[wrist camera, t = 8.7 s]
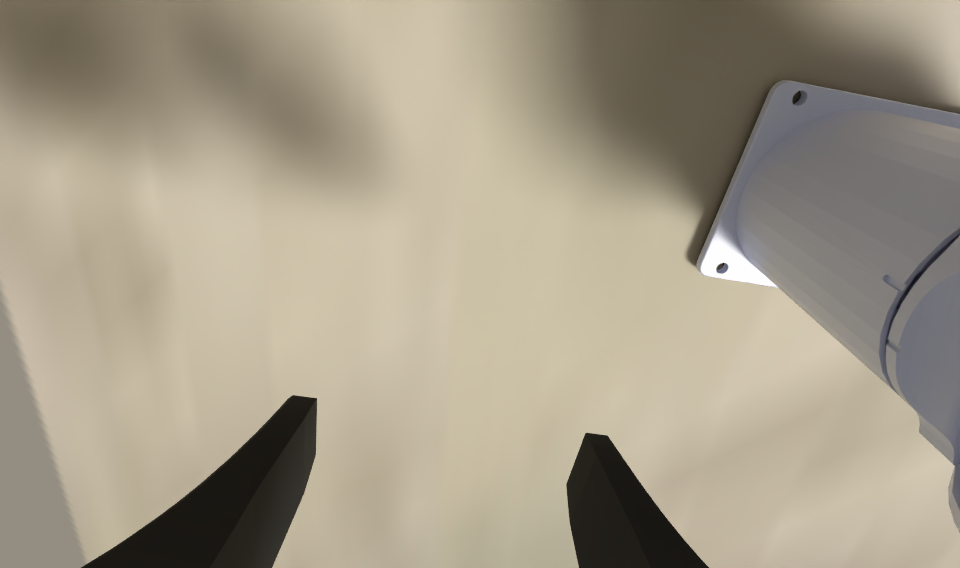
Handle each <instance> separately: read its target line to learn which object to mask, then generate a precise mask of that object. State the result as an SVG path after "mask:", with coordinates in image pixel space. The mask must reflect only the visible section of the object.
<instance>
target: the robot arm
mask: <svg viewBox="0 0 960 568" xmlns="http://www.w3.org/2000/svg"><path fill="white" fill-rule="evenodd" d="M798 91H800V92H801V97H800V99H799V101H798V102H796V103H795V104H793V102H792V99H793V96H794V95H795V93H797V92H798ZM721 263H724V266H723V267H722V268H721V269H719V270H716V267H717V266H718V265H719V264H721ZM696 266H697V269H698V271H699V272H700V273H701V274H702V275H704V276H708V277H714V278H720V279H727V280H733V281H739V282H745V283H752V284H758V285H764V286H770V287H777V288H779V289H780V290H782V291H783V292H784V293H785V294H786V295H787V296H788V297H789V298H791V299H792V300H793V301H794V302H795V303H796V304H797V305H798V306H799V307H801V308H802V309H803V310H804V311H805V312H806V313H807V314H808V315H810V316H811V317H812V318H813V319H814V320H815V321H816V322H817V323H819V324H820V325H821V326H822V327H823V328H824V329H825V330H826V331H827V332H829V333H830V334H831V335H832V336H833V337H834V338H835V339H836V340H838V341H839V342H840V343H841V344H842V345H843V346H844V347H845V348H847V349H848V350H849V351H850V352H851V353H852V354H853V355H854V356H855V357H857V358H858V359H859V360H860V361H861V362H862V363H863V364H864V365H866V366H867V367H868V368H869V369H870V370H871V371H872V372H873V373H875V374H876V375H877V376H878V377H879V378H880V379H881V380H882V381H883V382H885V383H886V384H887V385H888V386H889V387H890V388H891V389H892V390H894V391H895V392H896V393H897V394H898V395H899V396H900V397H901V398H902V399H903V400H904V401H906V402H907V403H908V404H909V405H910V406H911V407H912V408H913V409H914V410H915V411H916V412H917V414H918V416H919V420H920V426H919V433H920V434H921V435H923V436H924V437H925V438H926V439H927V440H928V441H929V442H930V443H931V444H932V445H933V446H934V447H935V448H936V449H937V450H939V451H940V452H941V453H942V454H943V455H944V456H945V457H946V458H947V459H948V460H949V461H950V462H951V463H952V464H953V465H955V468H954V471H953V474H952V477H951V481H950V484H949V487H948V490H949V506H950V509H951V513H952V516H953V519H954V523H955V524H956V526H957V528H958V530H959V532H960V114H958V113H953V112H947V111H942V110H937V109H932V108H927V107H922V106H917V105H912V104H907V103H902V102H897V101H892V100H887V99H882V98H877V97H872V96H867V95H861V94H856V93H851V92H846V91H841V90H836V89H831V88H826V87H821V86H816V85H811V84H806V83H801V82H796V81H791V80H782V81H779V82H777V83H776V84H775V85H774V86H772V88H771V90H770V91H769V93H768V95H767V98H766V100H765V103H764V105H763V107H762V110H761V112H760V114H759V117H758V119H757V121H756V124H755V126H754V128H753V131H752V133H751V135H750V138H749V140H748V143H747V145H746V147H745V150H744V152H743V154H742V157H741V159H740V161H739V164H738V166H737V168H736V171H735V173H734V175H733V178H732V180H731V183H730V185H729V187H728V190H727V192H726V194H725V197H724V199H723V201H722V204H721V206H720V208H719V211H718V213H717V215H716V218H715V220H714V223H713V225H712V227H711V230H710V232H709V234H708V237H707V239H706V241H705V244H704V246H703V248H702V251H701V253H700V255H699V258H698V260H697V264H696ZM316 417H317V398H310V397H302V396H294V395H293V396H291V397H290V398H288V400H287V401H286V402H285V403H284V404H283V405H282V406H281V407H280V408H279V409H278V411H277V412H276V413H275V414H274V415H273V416H272V417H271V418H270V419H269V420H268V421H267V422H266V423H265V424H264V425H263V426H262V427H261V428H260V429H259V430H258V431H257V433H256V434H255V435H253V436H252V437H251V438H250V439H249V440H248V441H247V442H246V443H245V444H244V445H243V446H242V447H241V448H240V449H239V450H238V451H237V452H236V453H235V454H234V455H233V456H232V457H231V458H229V459H228V460H227V461H226V462H225V463H224V464H223V465H222V466H220V467H219V468H218V469H217V470H216V471H215V472H214V473H212V474H211V475H210V476H209V477H208V478H207V479H206V480H204V481H203V482H202V483H201V484H200V485H198V486H197V487H196V488H195V489H194V490H192V491H191V492H190V493H189V494H187V495H186V496H185V497H184V498H182V499H181V500H180V501H179V502H177V503H176V504H175V505H173V506H172V507H171V508H169V509H168V510H167V511H165V512H164V513H163V514H161V515H160V516H159V517H157V518H156V519H154V520H153V521H152V522H150V523H149V524H147V525H146V526H144V527H143V528H142V529H140V530H139V531H137V532H136V533H134V534H133V535H132V536H130V537H129V538H127V539H126V540H124V541H123V542H121V543H120V544H118V545H117V546H115V547H114V548H112V549H111V550H109V551H107V552H106V553H104V554H102V555H101V556H99V557H98V558H96V559H94V560H93V561H91V562H89V563H88V564H86V565H85V566H83V567H81V568H272V566H273V564H274V562H275V559H276V557H277V555H278V552H279V550H280V548H281V545H282V543H283V541H284V539H285V536H286V534H287V532H288V529H289V527H290V525H291V522H292V520H293V518H294V515H295V513H296V511H297V508H298V506H299V504H300V501H301V499H302V496H303V494H304V491H305V488H306V485H307V482H308V479H309V475H310V472H311V469H312V465H313V462H314V459H315V455H316ZM567 497H568V509H569V518H570V525H571V531H572V536H573V540H574V545H575V550H576V555H577V560H578V564H579V568H709V567H708V566H707V565H706V564H705V563H704V562H703V561H702V560H701V559H700V558H699V556H698V555H697V554H696V553H695V552H694V551H693V550H692V549H691V547H690V546H689V545H688V544H687V543H686V542H685V540H684V539H683V538H682V537H681V536H680V534H679V533H678V532H677V531H676V529H675V528H674V527H673V526H672V525H671V523H670V522H669V521H668V520H667V518H666V517H665V516H664V514H663V513H662V512H661V511H660V509H659V508H658V507H657V505H656V504H655V502H654V501H653V500H652V498H651V497H650V496H649V494H648V493H647V492H646V490H645V489H644V487H643V486H642V485H641V483H640V482H639V480H638V479H637V478H636V476H635V475H634V473H633V472H632V470H631V469H630V468H629V466H628V465H627V463H626V462H625V460H624V459H623V457H622V456H621V454H620V453H619V452H618V450H617V449H616V447H615V446H614V444H613V443H612V441H611V440H610V439H609V437H608V436H606V435H598V434H590V433H586V434H585V436H584V439H583V442H582V444H581V447H580V450H579V452H578V455H577V458H576V460H575V463H574V466H573V468H572V471H571V474H570V476H569V479H568V482H567Z"/></svg>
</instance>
